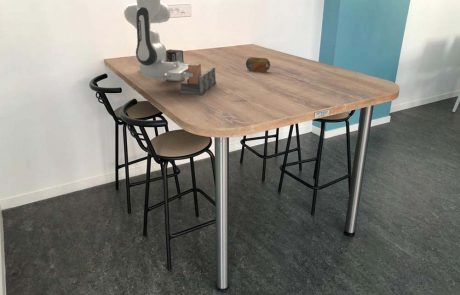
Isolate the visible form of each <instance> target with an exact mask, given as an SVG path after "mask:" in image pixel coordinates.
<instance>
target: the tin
mask: <svg viewBox="0 0 460 295" xmlns="http://www.w3.org/2000/svg"><path fill="white" fill-rule="evenodd" d="M245 66H246V68H247V70H248V71H250V72H256V73H265V72H266V73H267V71H269V69H271V68H270V67H271V62H270V61H269V59H268V58H266V57H257V56H253V57H252V56H251V57H249V58H247V60H246V62H245Z"/></svg>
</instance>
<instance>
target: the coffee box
mask: <svg viewBox="0 0 460 295" xmlns="http://www.w3.org/2000/svg"><path fill="white" fill-rule="evenodd" d="M176 61H179V62H180V63H185V61H184V51H183V50H179V49H166V61H165V62H176ZM185 79H186V77H184V78H183V79H181V80H168V81H170V82H181V81H185Z"/></svg>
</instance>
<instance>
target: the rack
mask: <svg viewBox="0 0 460 295" xmlns="http://www.w3.org/2000/svg"><path fill="white" fill-rule="evenodd" d="M186 81H187V83H180V89H179V92H180V94H183V95H195V96H196V95H198V96H204V95H206V93H207V92H209V90H211V89H212V88H214V86H216V84H217V81H216V67H215V66H212V67H211V68H210V69H208V70H206V71H205V72H204V73H202V74H201V76H200V77H199V81H200V85H198V84H189V78H187V79H186Z"/></svg>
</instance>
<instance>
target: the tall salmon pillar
mask: <svg viewBox="0 0 460 295" xmlns="http://www.w3.org/2000/svg"><path fill="white" fill-rule="evenodd" d="M190 72H191V73H194V76H193V77H188V79H189V84H198V85H200V81H199V77H200V76H201V75H202V64H201V63H197V62H195V63H194V62H191V63H190V64H189V65H188V73H190Z"/></svg>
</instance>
